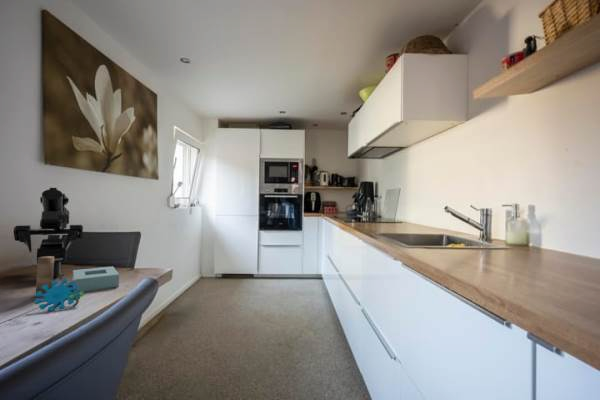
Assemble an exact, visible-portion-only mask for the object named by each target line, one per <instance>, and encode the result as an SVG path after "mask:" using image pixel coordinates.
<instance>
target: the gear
mask: <svg viewBox="0 0 600 400" xmlns="http://www.w3.org/2000/svg"><path fill="white" fill-rule="evenodd" d="M58 283H59V282H58V280H56V279H55V280H54V279H53V281H52V288H51V289H48V285H47V284H46V285H44V286H42V289H43V290H46V293H45V294H42V292H41V291H38V292H37V293H36V292H35V297H36V296H37V297H36V298H35V300H34V303H35V305H38V307H39V309H40V310H41V311H42V310H45V308H46V307H48V308H47V311H49V312H53V311H55V309H56V307H57V305H58V307H57V308H58V310H64V309H65V308H66V306H65V301H67V303H68V305H69V306H71V305H73V304H74V302H75V303H76V304H79V302H80V299H81V298H82V297H84V295H85V294H84V291H81V292H75V293H74V291H73V290H75V291H78V290H79V286H75V287H73V285H75V282H74V281H72V280H71V281H70V282H69V283H68V279H66V278H62V279H61V282H60V283H59V284H58ZM70 286H71V287H70ZM72 291H73V292H72ZM39 296H41V297H39ZM41 298H43V299H41Z"/></svg>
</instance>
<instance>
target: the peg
mask: <svg viewBox="0 0 600 400" xmlns="http://www.w3.org/2000/svg"><path fill="white" fill-rule="evenodd" d="M53 270H54V256H45V257H39V258H38V264H37V266H36V278H37V279H36V286H35V294H36V293H37V292H38V291H41V292H42V294H45V293H46V290H43V289H42V286H44V285H46V284H47V285H48V289H51V288H52V281H54V278H53ZM35 297H36V298H42V297H41V296H39V297H37V296H36V295H35Z"/></svg>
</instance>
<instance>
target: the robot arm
mask: <svg viewBox="0 0 600 400" xmlns="http://www.w3.org/2000/svg"><path fill="white" fill-rule="evenodd" d="M39 199H40V200H39V201H40V203H41V205H42V208H43V210H42V211H41V219H40V221H39V227H40V228H31V225H30V224H27V225H24V224H23V225H21V224H20V225H15V226H14V227H13V231H12V232H13V237H14V241H17V242H20V243H23V244H24V245H25V246H26V248H27V251H28V253H32V250H33V248H32V237H31V236H39V235H42V236H47V238H43V239H42V240H41V243H40V244H39V245H40V246H39V247H38V248H36V249H37V250H36V264H37V265H38V258H39V257H45V256H54V270H53V279H58V278H59V277H61V276H62V277H63V276H64V275H65V274H64V273H63V272H61V262H62V263H64V262H67V261H68V248H69V247H70V246H71V244H72V243H74V241H78V240H79V239H82V238H83V234H84V233H83V232H84V230H83V228H84V226H83V225H82V224H70V211H69V210H68V208H67V207H66V205H68V203H69V201H70V199H69V197H68V196H66V193H63V192H62V191H61V190H58V188H57V187H49V188H48V189H46V190H44V191H43V192H41V196H40V197H39ZM69 224H70V225H69ZM68 225H69V228H67V227H68ZM63 235H64V236H65V235H66V240H65V242H64V240H63V238H61V237H62V236H63ZM64 243H65V244H64ZM36 280H37V277H36Z"/></svg>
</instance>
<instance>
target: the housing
mask: <svg viewBox="0 0 600 400" xmlns="http://www.w3.org/2000/svg"><path fill="white" fill-rule="evenodd" d="M71 281H74V282H75V285H73V286H72V287H75V286H79V290H78V291H75V290H72V291H73V292H74V293H76V292H78V293H79V292H81V291H82V292H89V291H95V290H102V289H104V290H105V289H109V288H116V287H119V285H120V273H119V272H118V271H117V270H116V268H115V267H114V265H113V266H104V267H92V268H83V269H74V270H72V279H71Z"/></svg>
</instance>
